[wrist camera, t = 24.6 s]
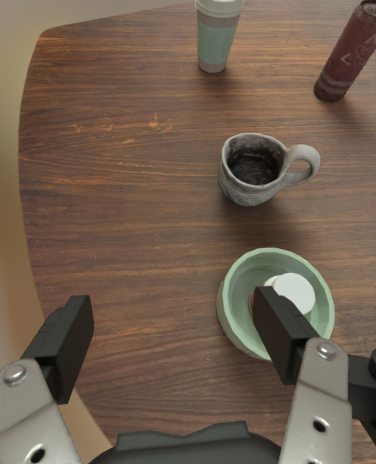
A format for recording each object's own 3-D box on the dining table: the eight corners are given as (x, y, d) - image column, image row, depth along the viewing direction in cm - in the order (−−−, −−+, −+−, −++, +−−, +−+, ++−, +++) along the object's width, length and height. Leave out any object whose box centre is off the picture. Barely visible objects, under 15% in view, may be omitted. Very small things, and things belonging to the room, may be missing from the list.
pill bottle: (250, 328, 30) (276, 322, 22) (243, 289, 32) (264, 270, 24) (288, 325, 30) (326, 317, 22) (279, 286, 32) (311, 267, 24)
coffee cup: (214, 48, 55) (223, -26, 44) (239, 68, 52) (256, -5, 42) (183, 60, 53) (185, -14, 42) (208, 82, 50) (218, 8, 39)
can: (348, 93, 51) (406, 8, 38) (332, 107, 49) (388, 22, 36) (323, 78, 52) (371, -8, 40) (306, 91, 50) (351, 5, 38)
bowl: (323, 356, 29) (351, 357, 25) (222, 365, 28) (231, 368, 24) (297, 258, 34) (315, 245, 30) (210, 263, 34) (216, 250, 29)
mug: (215, 160, 41) (227, 108, 32) (289, 169, 41) (322, 119, 32) (211, 210, 37) (224, 165, 28) (294, 220, 37) (333, 178, 28)
